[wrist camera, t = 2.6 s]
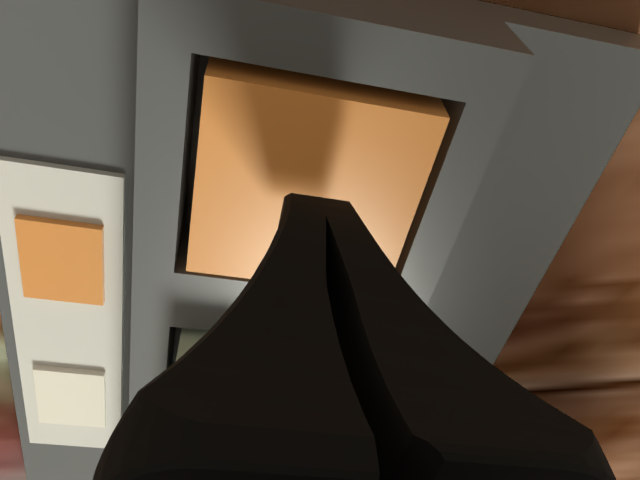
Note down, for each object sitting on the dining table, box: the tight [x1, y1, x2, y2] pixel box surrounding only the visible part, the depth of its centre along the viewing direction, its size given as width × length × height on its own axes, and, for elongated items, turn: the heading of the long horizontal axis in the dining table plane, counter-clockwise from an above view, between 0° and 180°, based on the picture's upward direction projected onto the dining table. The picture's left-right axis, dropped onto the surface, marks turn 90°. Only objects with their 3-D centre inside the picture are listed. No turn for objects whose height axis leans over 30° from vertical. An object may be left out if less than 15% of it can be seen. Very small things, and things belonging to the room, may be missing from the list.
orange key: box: [186, 56, 450, 279], centre depth 14 cm, size 5×5×2 cm
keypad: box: [0, 0, 640, 480], centre depth 19 cm, size 23×16×4 cm
